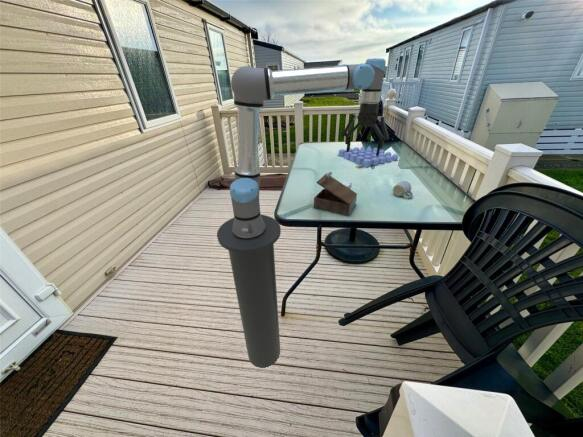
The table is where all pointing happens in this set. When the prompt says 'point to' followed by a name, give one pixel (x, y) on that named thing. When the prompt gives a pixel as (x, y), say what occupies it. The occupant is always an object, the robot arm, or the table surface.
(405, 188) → the ceramic mug
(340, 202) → the brown wooden box
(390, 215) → the table surface
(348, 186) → the product carton
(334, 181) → the lid
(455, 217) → the table surface
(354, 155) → the purple egg tray
